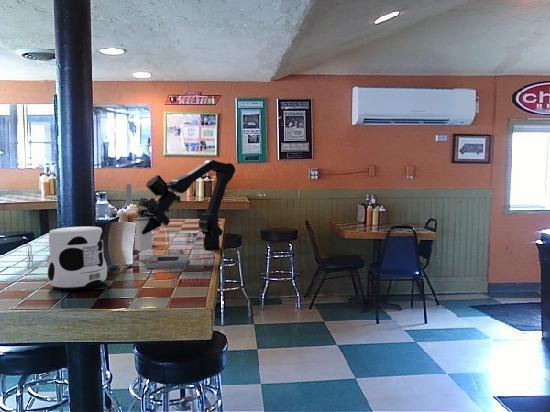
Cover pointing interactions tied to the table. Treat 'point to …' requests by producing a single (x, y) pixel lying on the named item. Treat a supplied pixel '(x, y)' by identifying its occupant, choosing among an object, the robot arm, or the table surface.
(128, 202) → the bottle
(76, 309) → the table surface
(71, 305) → the table surface
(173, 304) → the table surface
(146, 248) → the plug
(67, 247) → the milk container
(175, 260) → the socket plate
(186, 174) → the robot arm
